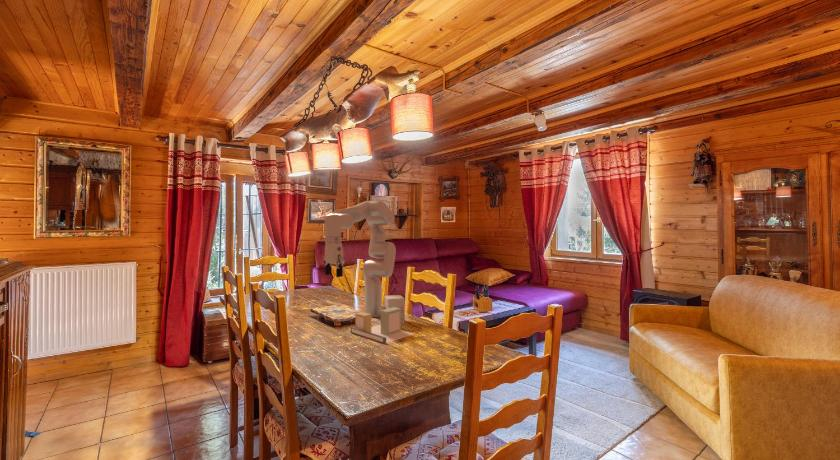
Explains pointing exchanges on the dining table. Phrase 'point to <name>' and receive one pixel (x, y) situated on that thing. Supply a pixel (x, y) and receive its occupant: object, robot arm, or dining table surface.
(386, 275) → the robot arm
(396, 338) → the shelf
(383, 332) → the tea box
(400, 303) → the supplement box
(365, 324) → the faced box
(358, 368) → the dining table surface
